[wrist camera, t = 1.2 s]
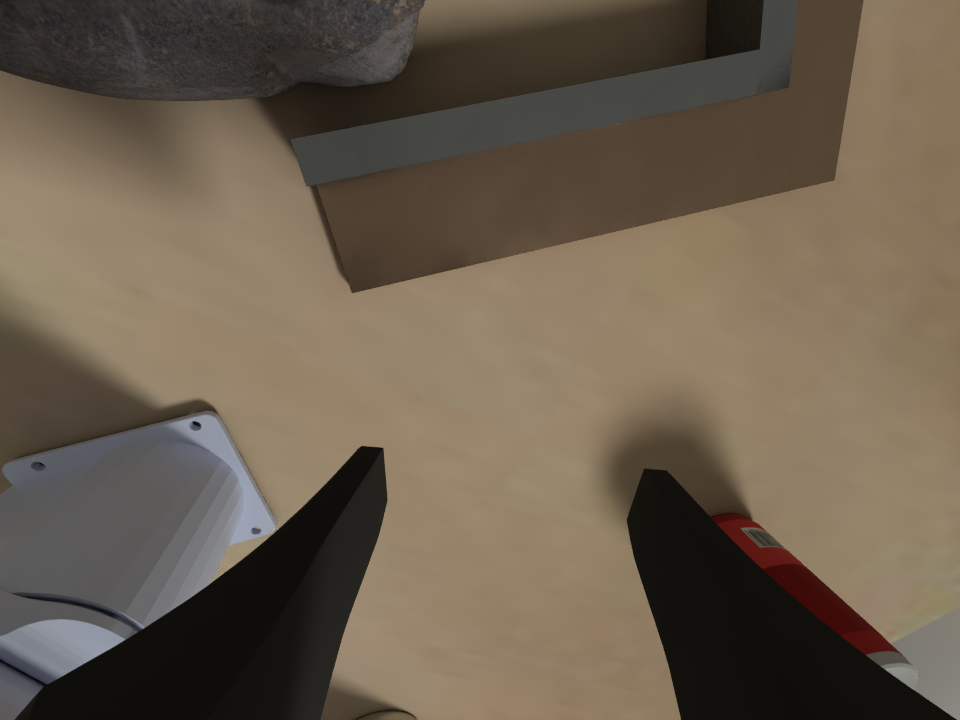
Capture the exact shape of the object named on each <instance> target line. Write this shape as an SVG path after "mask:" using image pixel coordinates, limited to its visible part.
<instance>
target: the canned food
mask: <svg viewBox="0 0 960 720" xmlns="http://www.w3.org/2000/svg"><path fill="white" fill-rule="evenodd" d="M712 519H713V520H714V522H715V523H716V524H717V525H718V526H719V527H720V528H721V529H722V530H723V531H724V532H725V533H726V534H727V535H728V536H729V537H730V538H731V539H732V540H733V541H734V542H735V543H736V544H737V545H738V546H739V547H740V548H741V549H742V550H743V551H744V552H745V553H746V554H747V555H748V556H749V557H750V558H751V559H752V560H754V561H755V562H756V563H757V564H758V565H759V566H760V567H761V568H762V569H763V570H764V571H765V572H766V573H767V574H768V575H769V576H770V577H772V578H773V579H774V580H775V581H776V582H777V583H778V584H779V585H780V586H782V587H783V588H784V589H785V590H786V591H787V592H788V593H790V594H791V595H792V596H793V597H794V598H795V599H797V600H798V601H799V602H800V603H801V604H802V605H804V606H805V607H806V608H807V609H808V610H810V611H811V612H812V613H813V614H814V615H815V616H817V617H818V618H819V619H820V620H822V621H823V622H824V623H825V624H826V625H828V626H829V627H830V628H831V629H833V630H834V631H835V632H836V633H838V634H839V635H840V636H842V637H843V638H844V639H846V640H847V641H848V642H849V643H851V644H852V645H853V646H855V647H856V648H857V649H859V650H860V651H861V652H862V653H864V654H865V655H866V656H868V657H869V658H870V659H872V660H873V661H874V662H876V663H877V664H878V665H880V666H881V667H882V668H884V669H885V670H887V671H888V672H889V673H891V674H892V675H893V676H895V677H896V678H898V679H899V680H900V681H902V682H903V683H904V684H906V685H907V686H909V687H910V688H912V689H913V690H914V689H915V687H916V685H917V681H918V672H917V670H916V669H915V668H914V667H913V666H912V665H911V664H910V663H909V662H908V661H907V659H906V658H905V657H904V656H903V655H902V654H901V653H900V652H899V651H898V650H896V649H895V648H894V647H893V646H892V645H891V644H890V643H889V642H888V641H887V640H886V639H885V638H884V637H883V636H882V635H881V634H880V633H879V632H877V631H876V630H875V629H874V628H873V627H872V626H871V625H870V624H869V623H867V622H866V621H865V620H864V619H863V618H862V617H861V616H860V615H859V614H857V613H856V612H855V611H854V610H853V609H852V608H851V607H850V606H849V605H847V604H846V603H845V602H844V601H843V600H842V599H841V598H840V597H839V596H838V595H836V594H835V593H834V592H833V591H832V590H831V589H830V588H829V587H828V586H826V585H825V584H824V583H823V582H822V581H821V580H820V579H819V578H818V577H816V576H815V575H814V574H813V573H812V572H811V571H810V570H809V569H808V568H806V567H805V566H804V565H803V564H802V563H801V562H800V561H799V560H798V559H797V558H795V557H794V556H793V555H792V554H791V553H790V552H789V551H788V550H787V549H785V548H784V547H783V546H782V545H781V544H780V543H779V542H778V541H777V540H775V539H774V538H773V537H772V536H771V535H770V534H769V533H768V532H767V531H765V530H764V529H763V528H762V527H761V526H760V525H759V524H757V523H755V522H754V521H752V520H750V519H748V518H746V517H744V516H742V515H737V514H724V515H718V516H715V517H712Z"/></svg>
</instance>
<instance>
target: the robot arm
mask: <svg viewBox="0 0 960 720" xmlns="http://www.w3.org/2000/svg"><path fill="white" fill-rule="evenodd" d="M193 421H196V422H199V423H200V424H201V426H196V425H194V424H193ZM38 462H40V463H42V464H44V465H45V466H43V465H41V464H39V463H38ZM2 473H3V475H4V476H5V477H6V478H7V479H8V481H9V482H10V483H11V484H12V486H11V487H9V488H8V489H7V490H6V491H4V492H3V493H2V494H0V720H320V719H321V715H322V711H323V707H324V703H325V699H326V695H327V692H328V688H329V684H330V680H331V676H332V673H333V669H334V666H335V662H336V658H337V655H338V651H339V647H340V644H341V640H342V637H343V633H344V630H345V627H346V624H347V621H348V618H349V615H350V613H351V610H352V607H353V605H354V602H355V599H356V596H357V594H358V591H359V588H360V586H361V583H362V580H363V578H364V575H365V572H366V569H367V567H368V564H369V561H370V558H371V556H372V553H373V550H374V547H375V545H376V542H377V539H378V536H379V533H380V529H381V525H382V521H383V517H384V512H385V508H386V504H387V488H386V476H385V463H384V450H383V448H379V447H366V446H361V447H360V448H359V449H358V450H357V451H356V452H355V453H354V454H353V455H352V456H351V457H350V458H349V460H348V461H347V462H346V463H345V464H344V465H343V466H342V467H341V468H340V469H339V470H338V472H337V473H336V474H335V475H334V476H333V477H332V478H331V479H330V480H329V481H328V482H327V483H326V484H325V485H324V486H323V487H322V488H321V489H320V490H319V491H318V492H317V493H316V494H315V495H314V496H313V497H312V498H311V499H310V500H309V501H308V502H307V503H306V504H305V505H304V506H303V507H302V508H301V509H300V510H299V511H298V512H297V513H296V514H295V515H293V516H292V517H291V518H290V519H289V520H288V521H287V522H286V523H285V524H284V525H283V526H282V527H280V528H279V529H278V530H277V531H276V532H275V533H274V534H273V535H271V536H270V537H269V538H268V539H267V540H266V541H264V542H263V543H262V544H261V545H260V546H258V547H257V548H256V549H255V550H254V551H252V552H251V553H250V554H249V555H247V556H246V557H245V558H244V559H242V560H241V561H240V562H239V563H237V564H236V565H235V566H233V567H232V568H231V569H229V570H228V571H227V572H225V573H224V574H223V575H221V576H220V577H219V578H217V579H216V580H215V581H213V582H212V580H213V578H214V576H215V574H216V571H217V569H218V567H219V565H220V563H221V561H222V559H223V556H224V554H225V552H226V550H227V548H228V546H230V545H233V544H236V543H240V542H243V541H247V540H250V539H254V538H257V537H261V536H264V535H268V534H270V533H272V532H273V531H274V530H275V527H276V524H277V523H276V520H275V518H274V516H273V515H272V513H271V511H270V509H269V507H268V505H267V504H266V502H265V500H264V498H263V496H262V494H261V492H260V491H259V489H258V487H257V485H256V483H255V481H254V480H253V478H252V476H251V474H250V472H249V470H248V468H247V467H246V465H245V463H244V461H243V459H242V457H241V456H240V454H239V452H238V450H237V448H236V446H235V444H234V443H233V441H232V439H231V437H230V435H229V433H228V432H227V430H226V428H225V426H224V424H223V422H222V421H221V419H220V417H219V416H218V414H216V413H215V412H213V411H202V412H198V413H194V414H190V415H186V416H182V417H179V418H175V419H171V420H167V421H163V422H159V423H155V424H151V425H147V426H143V427H139V428H135V429H131V430H127V431H124V432H120V433H116V434H112V435H108V436H104V437H100V438H96V439H92V440H88V441H84V442H80V443H76V444H72V445H69V446H65V447H61V448H57V449H53V450H49V451H45V452H41V453H37V454H33V455H29V456H25V457H21V458H17V459H14V460H11V461H9V462H8V463H7V464H5V465H4V466H3V467H2ZM627 524H628V530H629V535H630V540H631V545H632V550H633V555H634V559H635V562H636V565H637V568H638V571H639V574H640V578H641V581H642V584H643V587H644V590H645V593H646V596H647V599H648V602H649V605H650V608H651V611H652V614H653V617H654V620H655V623H656V626H657V629H658V632H659V636H660V639H661V642H662V645H663V648H664V651H665V655H666V658H667V662H668V665H669V669H670V673H671V678H672V682H673V686H674V690H675V695H676V699H677V703H678V707H679V712H680V716H681V720H956V719H955V718H953V717H952V716H950V715H949V714H948V713H946V712H945V711H943V710H942V709H940V708H939V707H937V706H936V705H935V704H933V703H932V702H930V701H929V700H927V699H926V698H925V697H923V696H922V695H920V694H919V693H917V692H916V691H914V690H913V689H912V688H910V687H909V686H907V685H906V684H904V683H903V682H902V681H900V680H899V679H898V678H896V677H895V676H893V675H892V674H891V673H889V672H888V671H887V670H885V669H884V668H882V667H881V666H880V665H878V664H877V663H876V662H874V661H873V660H872V659H870V658H869V657H868V656H866V655H865V654H864V653H862V652H861V651H860V650H859V649H857V648H856V647H855V646H853V645H852V644H851V643H849V642H848V641H847V640H846V639H844V638H843V637H842V636H840V635H839V634H838V633H836V632H835V631H834V630H833V629H831V628H830V627H829V626H828V625H826V624H825V623H824V622H823V621H822V620H820V619H819V618H818V617H817V616H815V615H814V614H813V613H812V612H811V611H810V610H808V609H807V608H806V607H805V606H804V605H802V604H801V603H800V602H799V601H798V600H797V599H795V598H794V597H793V596H792V595H791V594H790V593H788V592H787V591H786V590H785V589H784V588H783V587H782V586H780V585H779V584H778V583H777V582H776V581H775V580H774V579H773V578H772V577H770V576H769V575H768V574H767V573H766V572H765V571H764V570H763V569H762V568H761V567H760V566H759V565H758V564H757V563H756V562H755V561H754V560H752V559H751V558H750V557H749V556H748V555H747V554H746V553H745V552H744V551H743V550H742V549H741V548H740V547H739V546H738V545H737V544H736V543H735V542H734V541H733V540H732V539H731V538H730V537H729V536H728V535H727V534H726V533H725V532H724V531H723V530H722V529H721V528H720V527H719V526H718V525H717V524H716V523H715V522H714V520H713V519H712V518H711V517H710V516H709V515H708V514H707V513H706V512H705V511H704V510H703V509H702V508H701V507H700V506H699V505H698V503H697V502H696V501H695V500H694V499H693V498H692V497H691V496H690V495H689V494H688V493H687V492H686V491H685V489H684V488H683V487H682V486H681V485H680V484H679V483H678V482H677V481H676V480H675V479H674V478H673V477H672V476H671V475H670V474H669V473H668V471H666V470H653V469H644V471H643V474H642V476H641V479H640V482H639V485H638V488H637V491H636V494H635V497H634V500H633V503H632V506H631V509H630V512H629V514H628V517H627ZM254 527H258V528H260V529H255V528H254ZM211 582H212V583H211Z"/></svg>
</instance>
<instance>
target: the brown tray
mask: <svg viewBox="0 0 960 720" xmlns="http://www.w3.org/2000/svg"><path fill="white" fill-rule="evenodd" d="M862 6H863V0H708V19H707V47H706V60H702V61H697V62H691V63H686V64H681V65H676V66H671V67H665V68H660V69H655V70H650V71H644V72H639V73H634V74H629V75H624V76H618V77H613V78H608V79H603V80H597V81H592V82H587V83H582V84H577V85H571V86H566V87H561V88H556V89H550V90H545V91H540V92H535V93H530V94H524V95H519V96H514V97H509V98H503V99H498V100H493V101H488V102H482V103H477V104H472V105H467V106H462V107H456V108H451V109H446V110H441V111H435V112H430V113H425V114H420V115H415V116H409V117H404V118H399V119H394V120H388V121H383V122H378V123H373V124H368V125H362V126H357V127H352V128H347V129H341V130H336V131H331V132H326V133H321V134H315V135H310V136H305V137H300V138H294V139H291V142H292V145H293V148H294V151H295V154H296V157H297V160H298V163H299V166H300V169H301V172H302V175H303V178H304V181H305V183H306V186H312V187H317V189H318V192H319V195H320V198H321V201H322V204H323V207H324V210H325V213H326V216H327V219H328V222H329V225H330V228H331V231H332V234H333V237H334V240H335V243H336V246H337V249H338V252H339V255H340V258H341V261H342V264H343V267H344V270H345V273H346V276H347V279H348V283H349V286H350V289H351V292H352V293H355V292H359V291H363V290H367V289H372V288H376V287H380V286H385V285H389V284H393V283H397V282H402V281H406V280H410V279H414V278H419V277H423V276H427V275H432V274H436V273H440V272H444V271H449V270H453V269H457V268H461V267H466V266H470V265H474V264H479V263H483V262H487V261H491V260H496V259H500V258H504V257H508V256H513V255H517V254H521V253H526V252H530V251H534V250H538V249H543V248H547V247H551V246H555V245H560V244H564V243H568V242H573V241H577V240H581V239H585V238H590V237H594V236H598V235H602V234H607V233H611V232H615V231H620V230H624V229H628V228H632V227H637V226H641V225H645V224H650V223H654V222H658V221H662V220H667V219H671V218H675V217H679V216H684V215H688V214H692V213H697V212H701V211H705V210H709V209H714V208H718V207H722V206H726V205H731V204H735V203H739V202H744V201H748V200H752V199H756V198H761V197H765V196H769V195H773V194H778V193H782V192H786V191H791V190H795V189H799V188H803V187H808V186H812V185H816V184H820V183H825V182H829V181H833V180H835V173H836V167H837V161H838V155H839V149H840V142H841V136H842V130H843V124H844V118H845V111H846V105H847V99H848V93H849V87H850V80H851V74H852V68H853V62H854V56H855V49H856V43H857V37H858V31H859V24H860V18H861V12H862Z"/></svg>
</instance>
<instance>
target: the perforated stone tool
mask: <svg viewBox="0 0 960 720" xmlns="http://www.w3.org/2000/svg"><path fill="white" fill-rule="evenodd" d="M424 1H425V0H0V70H1V71H4V72H7V73H10V74H14V75H17V76H20V77H24V78H27V79H31V80H35V81H38V82H42V83H46V84H50V85H55V86H58V87H64V88H68V89H72V90H77V91H82V92H86V93H92V94H97V95H103V96H110V97H117V98H125V99H137V100H163V101H168V100H169V101H204V100H230V99H244V98H261V97H269V96H272V95H275V94H279V93H283V92H286V91H290V90H291V89H293V88H294V87H295V86H296V85H298V84H302V83H317V84H320V85H326V86H336V87H354V86H359V85H369V84H376V83H382V82H388V81H391V80H392V79H393V78H394V77H395V76H396V75H398V74H400V73H401V72H402V71H403V69H404V68H405V66H406V64H407V60H408V56H409V55H410V53H411V52H412V48H413V46H414V40H415V30H416V28H417V24H418V17H419V12H420V9H422V7H423V5H424Z"/></svg>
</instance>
